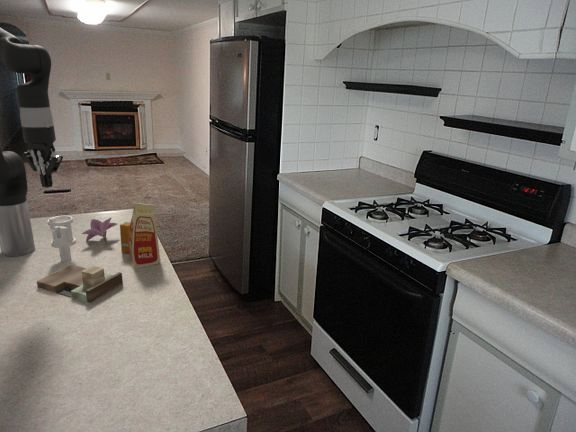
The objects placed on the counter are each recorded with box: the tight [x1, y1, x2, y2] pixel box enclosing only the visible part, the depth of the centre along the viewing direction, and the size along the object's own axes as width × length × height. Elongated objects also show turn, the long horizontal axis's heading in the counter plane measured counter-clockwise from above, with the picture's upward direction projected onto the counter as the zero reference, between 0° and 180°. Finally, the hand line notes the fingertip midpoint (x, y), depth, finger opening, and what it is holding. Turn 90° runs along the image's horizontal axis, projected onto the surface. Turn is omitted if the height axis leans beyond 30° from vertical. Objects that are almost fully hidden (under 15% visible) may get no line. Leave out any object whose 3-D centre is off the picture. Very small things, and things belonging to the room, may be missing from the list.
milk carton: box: [129, 202, 161, 269], centre depth 136 cm, size 9×9×20 cm
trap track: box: [36, 264, 124, 304], centre depth 121 cm, size 20×12×4 cm, turn 67°
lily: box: [81, 217, 118, 245], centre depth 151 cm, size 12×12×10 cm
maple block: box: [81, 265, 105, 287], centre depth 118 cm, size 4×4×4 cm
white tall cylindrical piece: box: [47, 215, 77, 262], centre depth 135 cm, size 7×7×15 cm
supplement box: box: [119, 221, 131, 254], centre depth 144 cm, size 3×3×10 cm
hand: (47, 186), depth 119 cm, fingers closed
